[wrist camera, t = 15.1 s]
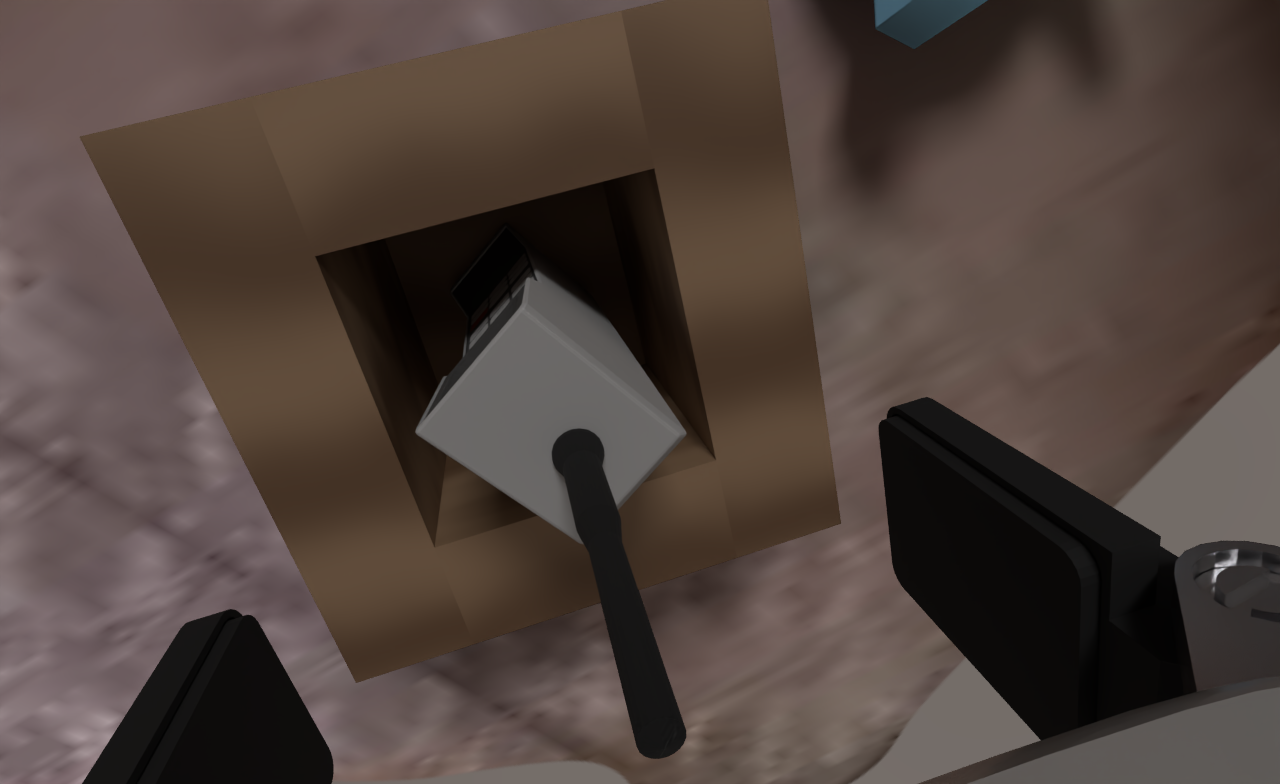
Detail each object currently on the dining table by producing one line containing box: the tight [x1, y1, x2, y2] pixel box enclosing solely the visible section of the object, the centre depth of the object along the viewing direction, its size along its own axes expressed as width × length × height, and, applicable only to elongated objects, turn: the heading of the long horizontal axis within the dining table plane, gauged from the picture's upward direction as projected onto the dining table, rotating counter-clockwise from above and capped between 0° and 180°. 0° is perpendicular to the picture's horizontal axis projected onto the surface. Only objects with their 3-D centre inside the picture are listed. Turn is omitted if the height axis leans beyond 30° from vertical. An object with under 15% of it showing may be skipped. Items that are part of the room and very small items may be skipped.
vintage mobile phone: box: [415, 223, 687, 759], centre depth 19 cm, size 4×5×25 cm
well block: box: [80, 0, 841, 683], centre depth 26 cm, size 18×18×12 cm
